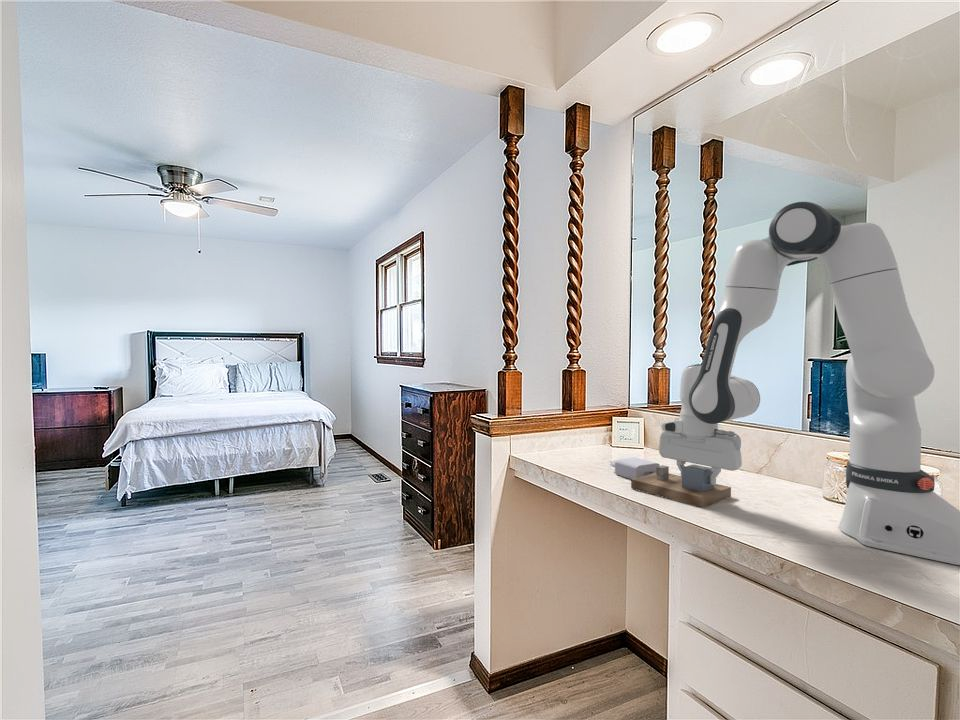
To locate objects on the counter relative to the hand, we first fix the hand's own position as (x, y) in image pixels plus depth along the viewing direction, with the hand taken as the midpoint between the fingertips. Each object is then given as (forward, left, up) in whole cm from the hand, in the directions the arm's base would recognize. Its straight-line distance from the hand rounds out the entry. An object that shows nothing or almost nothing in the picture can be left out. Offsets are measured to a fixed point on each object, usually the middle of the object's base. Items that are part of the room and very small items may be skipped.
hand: (697, 481), depth 123 cm
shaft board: (+5, 0, -4) cm, 7 cm away
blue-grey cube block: (0, 0, -2) cm, 2 cm away
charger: (+25, -6, -5) cm, 26 cm away
